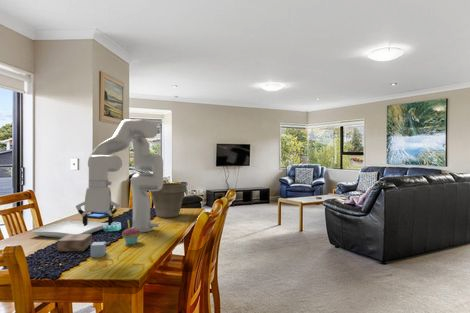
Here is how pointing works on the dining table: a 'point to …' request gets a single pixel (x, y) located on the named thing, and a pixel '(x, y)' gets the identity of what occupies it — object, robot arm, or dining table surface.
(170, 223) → the dining table surface
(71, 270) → the dining table surface
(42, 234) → the square plate
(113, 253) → the dining table surface
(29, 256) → the dining table surface
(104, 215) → the handheld game console
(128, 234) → the cupcake
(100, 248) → the slate block
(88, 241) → the walnut base
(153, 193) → the plant pot
